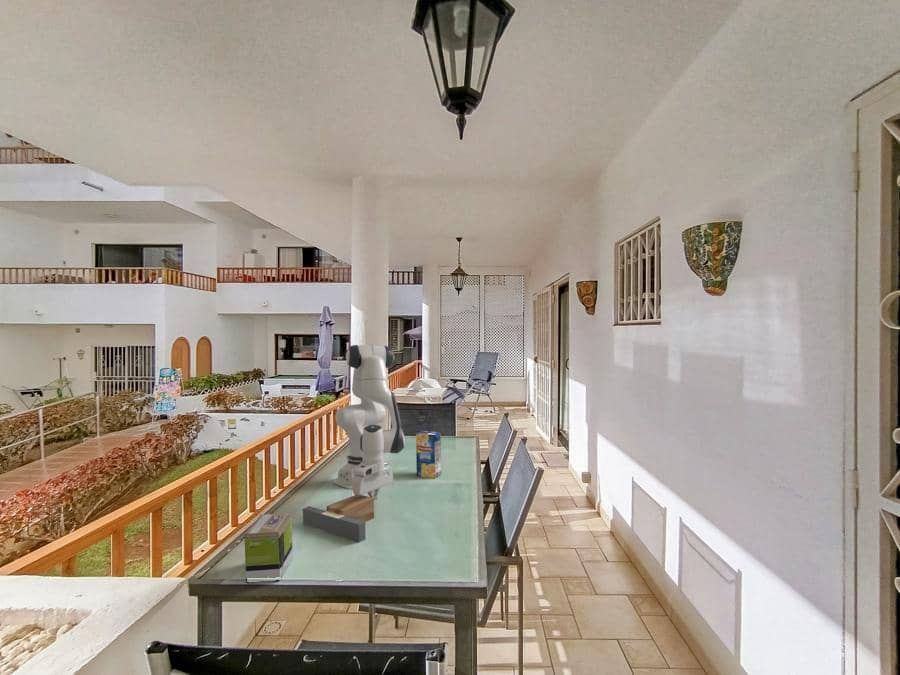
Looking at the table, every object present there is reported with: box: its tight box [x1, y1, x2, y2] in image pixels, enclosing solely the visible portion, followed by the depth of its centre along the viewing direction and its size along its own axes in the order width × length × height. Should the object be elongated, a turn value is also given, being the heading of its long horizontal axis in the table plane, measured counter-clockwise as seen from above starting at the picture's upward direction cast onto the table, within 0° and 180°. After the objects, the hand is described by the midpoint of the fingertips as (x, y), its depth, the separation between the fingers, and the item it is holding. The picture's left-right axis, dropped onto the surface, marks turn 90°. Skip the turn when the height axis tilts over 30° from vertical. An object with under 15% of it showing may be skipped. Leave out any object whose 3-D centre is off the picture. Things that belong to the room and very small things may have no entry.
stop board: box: [302, 505, 367, 543], centre depth 168 cm, size 30×3×6 cm, turn 56°
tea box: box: [244, 512, 294, 579], centre depth 140 cm, size 15×10×15 cm, turn 5°
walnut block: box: [326, 494, 375, 523], centre depth 176 cm, size 9×16×8 cm, turn 146°
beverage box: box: [415, 430, 442, 479], centre depth 237 cm, size 7×11×22 cm, turn 63°
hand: (373, 500), depth 187 cm, fingers closed
